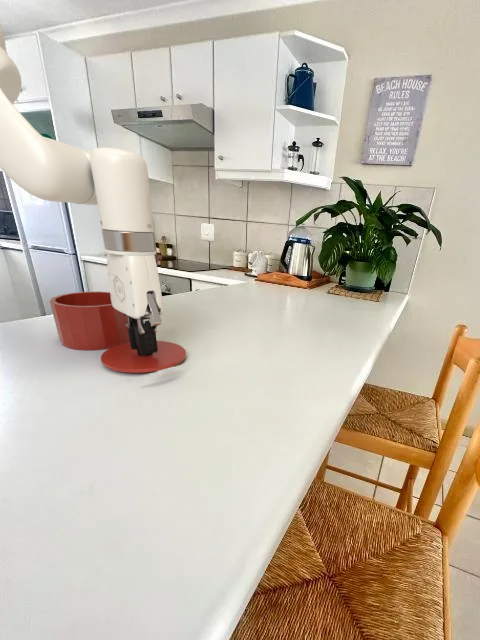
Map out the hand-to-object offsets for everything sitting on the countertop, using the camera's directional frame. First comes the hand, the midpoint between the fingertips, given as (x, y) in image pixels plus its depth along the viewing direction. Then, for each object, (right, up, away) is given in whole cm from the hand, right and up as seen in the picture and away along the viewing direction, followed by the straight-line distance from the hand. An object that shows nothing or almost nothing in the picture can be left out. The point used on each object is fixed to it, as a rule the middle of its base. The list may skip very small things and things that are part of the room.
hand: (144, 349), depth 60 cm
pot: (-13, +3, +9) cm, 16 cm away
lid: (0, -1, +1) cm, 1 cm away
